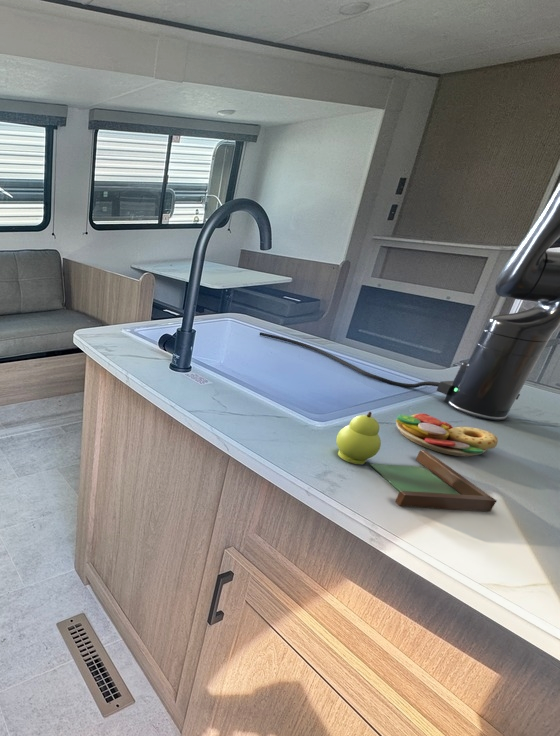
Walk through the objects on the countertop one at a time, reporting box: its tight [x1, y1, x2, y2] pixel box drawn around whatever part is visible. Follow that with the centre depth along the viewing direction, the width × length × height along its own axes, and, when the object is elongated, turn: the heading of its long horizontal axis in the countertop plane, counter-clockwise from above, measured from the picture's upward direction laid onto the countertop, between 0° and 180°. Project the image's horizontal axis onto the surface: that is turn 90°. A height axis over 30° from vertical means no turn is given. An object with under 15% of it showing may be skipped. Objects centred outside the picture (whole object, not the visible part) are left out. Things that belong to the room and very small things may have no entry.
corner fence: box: [369, 449, 498, 512], centre depth 67 cm, size 13×13×2 cm
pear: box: [335, 411, 382, 465], centre depth 71 cm, size 6×6×9 cm
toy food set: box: [395, 413, 499, 457], centre depth 79 cm, size 13×13×3 cm
